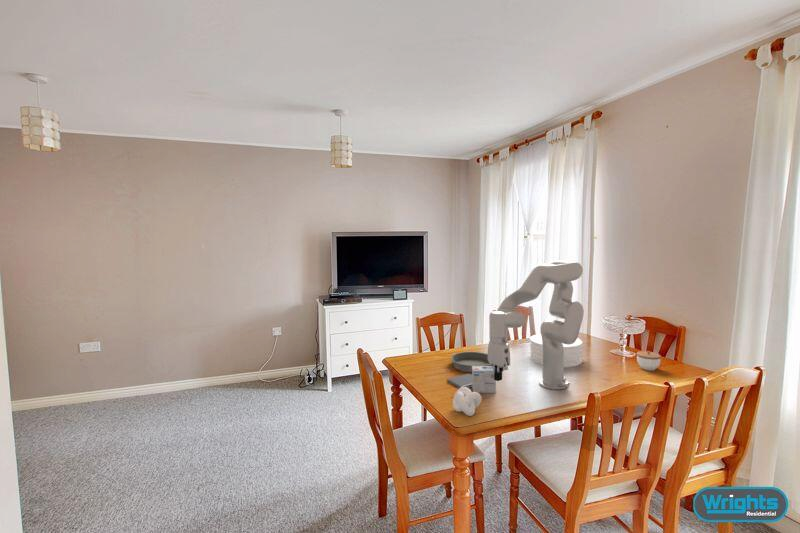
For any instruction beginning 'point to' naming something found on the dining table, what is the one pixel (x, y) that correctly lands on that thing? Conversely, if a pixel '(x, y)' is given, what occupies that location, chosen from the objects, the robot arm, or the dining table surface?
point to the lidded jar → (648, 360)
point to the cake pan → (469, 360)
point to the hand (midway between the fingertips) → (498, 379)
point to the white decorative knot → (466, 401)
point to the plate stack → (570, 351)
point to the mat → (461, 381)
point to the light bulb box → (483, 379)
